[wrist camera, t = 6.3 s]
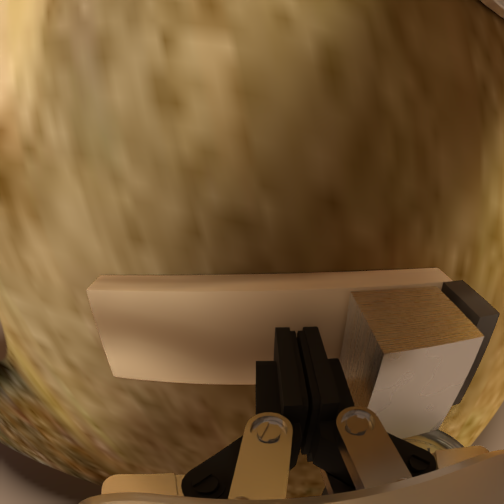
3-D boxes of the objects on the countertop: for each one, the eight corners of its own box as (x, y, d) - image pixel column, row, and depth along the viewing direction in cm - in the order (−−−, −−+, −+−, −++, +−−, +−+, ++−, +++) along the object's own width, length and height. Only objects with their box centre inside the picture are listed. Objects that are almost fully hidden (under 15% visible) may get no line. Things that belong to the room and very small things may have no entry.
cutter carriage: (350, 291, 11) (384, 353, 8) (446, 285, 11) (495, 333, 8) (334, 384, 13) (352, 448, 10) (419, 372, 13) (448, 425, 10)
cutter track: (100, 274, 13) (51, 328, 9) (447, 267, 13) (499, 313, 9) (123, 358, 15) (93, 419, 11) (424, 348, 15) (459, 403, 11)
